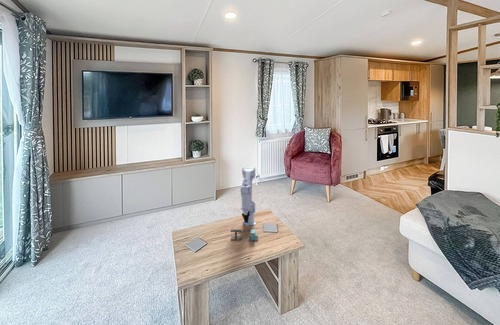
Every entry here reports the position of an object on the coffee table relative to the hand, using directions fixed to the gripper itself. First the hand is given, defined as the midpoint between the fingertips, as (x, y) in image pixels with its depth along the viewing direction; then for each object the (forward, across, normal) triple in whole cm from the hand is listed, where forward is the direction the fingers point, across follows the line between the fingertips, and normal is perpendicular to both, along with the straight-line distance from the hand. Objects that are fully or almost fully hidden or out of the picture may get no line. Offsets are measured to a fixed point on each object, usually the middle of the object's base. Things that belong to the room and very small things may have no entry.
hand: (246, 220), depth 187 cm
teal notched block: (+10, +8, +5) cm, 13 cm away
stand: (+10, +7, -7) cm, 15 cm away
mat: (+10, +8, +5) cm, 14 cm away
